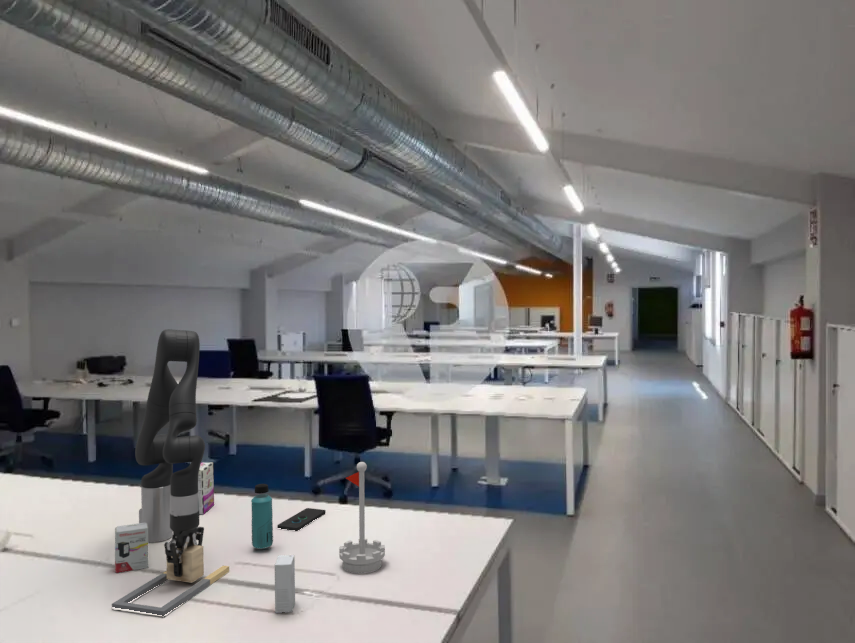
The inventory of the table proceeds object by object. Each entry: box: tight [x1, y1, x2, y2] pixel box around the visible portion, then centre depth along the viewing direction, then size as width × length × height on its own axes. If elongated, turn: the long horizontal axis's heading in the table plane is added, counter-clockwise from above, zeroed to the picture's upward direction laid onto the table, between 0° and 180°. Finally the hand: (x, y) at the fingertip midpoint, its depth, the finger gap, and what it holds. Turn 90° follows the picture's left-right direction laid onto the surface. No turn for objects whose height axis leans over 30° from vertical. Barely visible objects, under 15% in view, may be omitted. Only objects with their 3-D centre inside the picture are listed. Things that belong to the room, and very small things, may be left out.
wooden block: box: [165, 545, 205, 583], centre depth 172 cm, size 8×5×8 cm, turn 74°
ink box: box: [114, 522, 149, 574], centre depth 181 cm, size 9×5×12 cm, turn 118°
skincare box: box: [274, 554, 296, 614], centre depth 157 cm, size 6×4×12 cm
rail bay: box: [111, 565, 230, 616], centre depth 167 cm, size 15×28×2 cm, turn 164°
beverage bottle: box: [250, 483, 274, 549], centre depth 194 cm, size 6×7×20 cm
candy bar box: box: [198, 461, 215, 516], centre depth 232 cm, size 11×5×16 cm, turn 179°
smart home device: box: [276, 507, 327, 532], centre depth 221 cm, size 8×2×20 cm
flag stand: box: [338, 461, 386, 574], centre depth 182 cm, size 13×13×30 cm
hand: (185, 571), depth 172 cm, fingers closed on wooden block, 5 cm apart
